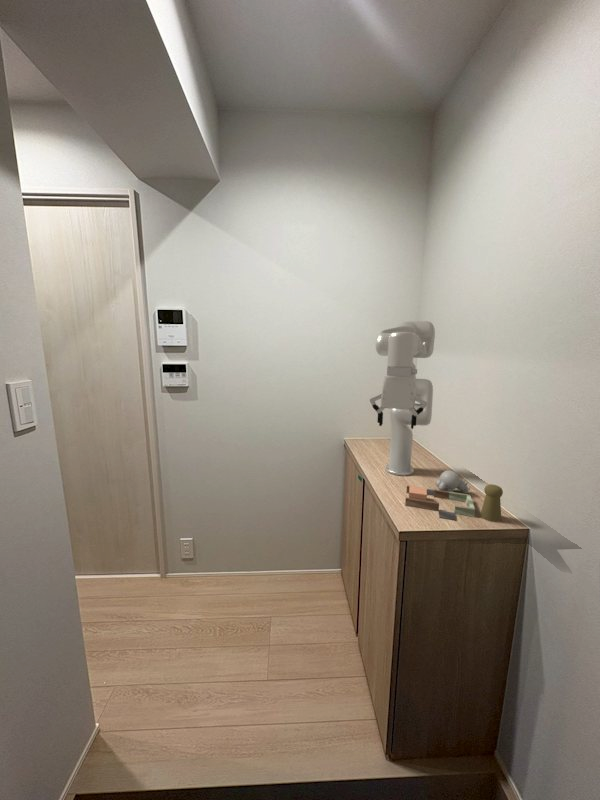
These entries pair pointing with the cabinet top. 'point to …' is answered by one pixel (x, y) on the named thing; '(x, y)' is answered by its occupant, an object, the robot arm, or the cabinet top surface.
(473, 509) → the trap lane
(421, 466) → the cabinet top surface
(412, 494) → the salmon block
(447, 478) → the toy rhinoceros
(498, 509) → the cork
